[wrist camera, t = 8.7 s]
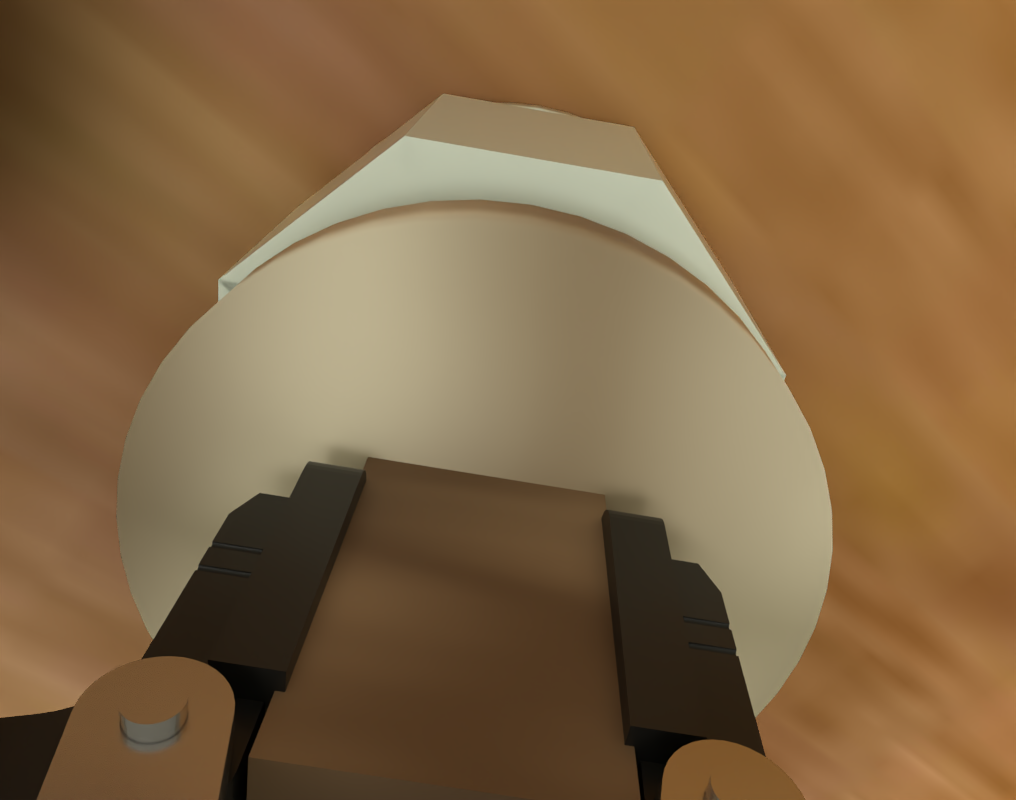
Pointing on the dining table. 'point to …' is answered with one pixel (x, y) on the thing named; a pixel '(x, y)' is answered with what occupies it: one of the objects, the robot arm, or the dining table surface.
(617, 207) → the bowl
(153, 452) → the lid
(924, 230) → the dining table surface
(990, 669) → the dining table surface
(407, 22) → the dining table surface
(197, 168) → the dining table surface
